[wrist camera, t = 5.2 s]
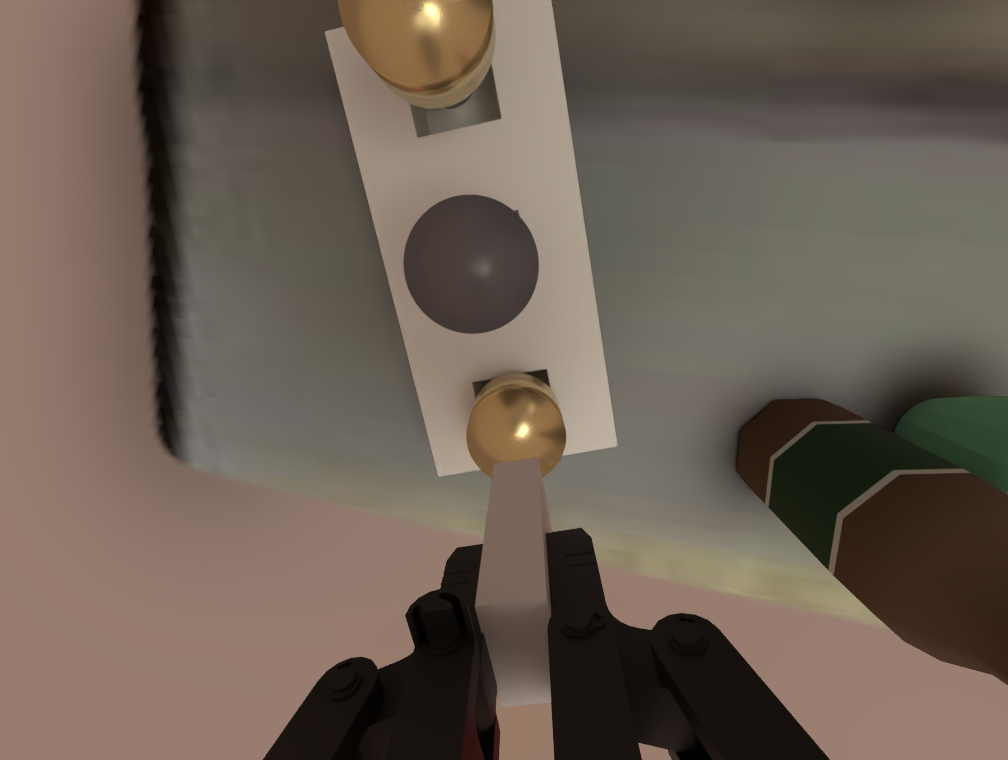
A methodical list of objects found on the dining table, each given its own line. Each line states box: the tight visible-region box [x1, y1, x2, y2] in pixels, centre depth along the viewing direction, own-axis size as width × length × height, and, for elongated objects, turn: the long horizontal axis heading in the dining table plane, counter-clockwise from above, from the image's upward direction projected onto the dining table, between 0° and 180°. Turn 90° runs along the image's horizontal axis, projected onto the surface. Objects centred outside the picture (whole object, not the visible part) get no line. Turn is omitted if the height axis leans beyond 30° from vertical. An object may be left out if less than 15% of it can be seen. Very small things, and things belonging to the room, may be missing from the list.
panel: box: [325, 0, 617, 477], centre depth 27 cm, size 22×10×6 cm, turn 11°
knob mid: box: [403, 195, 539, 334], centre depth 20 cm, size 5×5×8 cm
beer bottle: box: [737, 400, 1008, 685], centre depth 21 cm, size 8×8×24 cm
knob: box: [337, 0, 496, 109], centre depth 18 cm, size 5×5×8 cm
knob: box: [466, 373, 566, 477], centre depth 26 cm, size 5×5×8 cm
